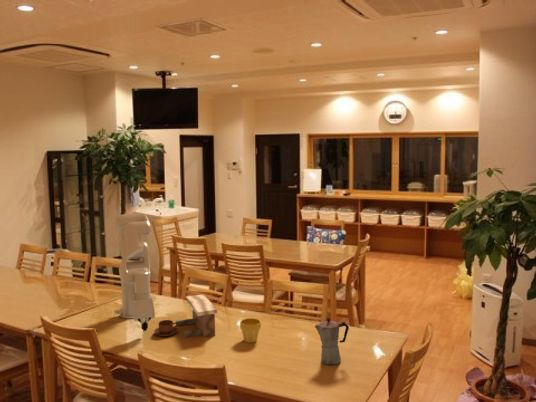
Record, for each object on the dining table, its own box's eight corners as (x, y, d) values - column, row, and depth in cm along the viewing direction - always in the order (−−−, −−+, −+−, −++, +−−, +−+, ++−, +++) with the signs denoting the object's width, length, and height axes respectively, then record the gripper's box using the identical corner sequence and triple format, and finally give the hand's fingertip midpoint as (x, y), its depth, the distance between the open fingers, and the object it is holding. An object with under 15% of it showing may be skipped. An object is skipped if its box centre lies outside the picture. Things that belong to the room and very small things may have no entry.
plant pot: (263, 337, 257) (263, 319, 256) (256, 345, 247) (256, 326, 246) (245, 335, 260) (244, 316, 259) (237, 342, 250) (236, 323, 249)
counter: (184, 340, 254) (183, 314, 252) (174, 322, 280) (173, 298, 278) (217, 335, 260) (216, 309, 258) (204, 318, 286) (203, 294, 284)
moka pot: (313, 357, 233) (312, 315, 230) (345, 355, 234) (345, 314, 231) (316, 366, 223) (316, 323, 221) (350, 364, 224) (351, 321, 222)
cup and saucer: (169, 327, 272) (169, 316, 272) (182, 333, 264) (181, 322, 263) (150, 333, 264) (149, 322, 263) (162, 340, 256) (162, 328, 255)
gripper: (128, 299, 251) (130, 334, 253) (158, 295, 257) (160, 330, 259) (127, 295, 258) (129, 330, 260) (156, 291, 264) (158, 325, 266)
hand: (144, 330), depth 259 cm, fingers closed
